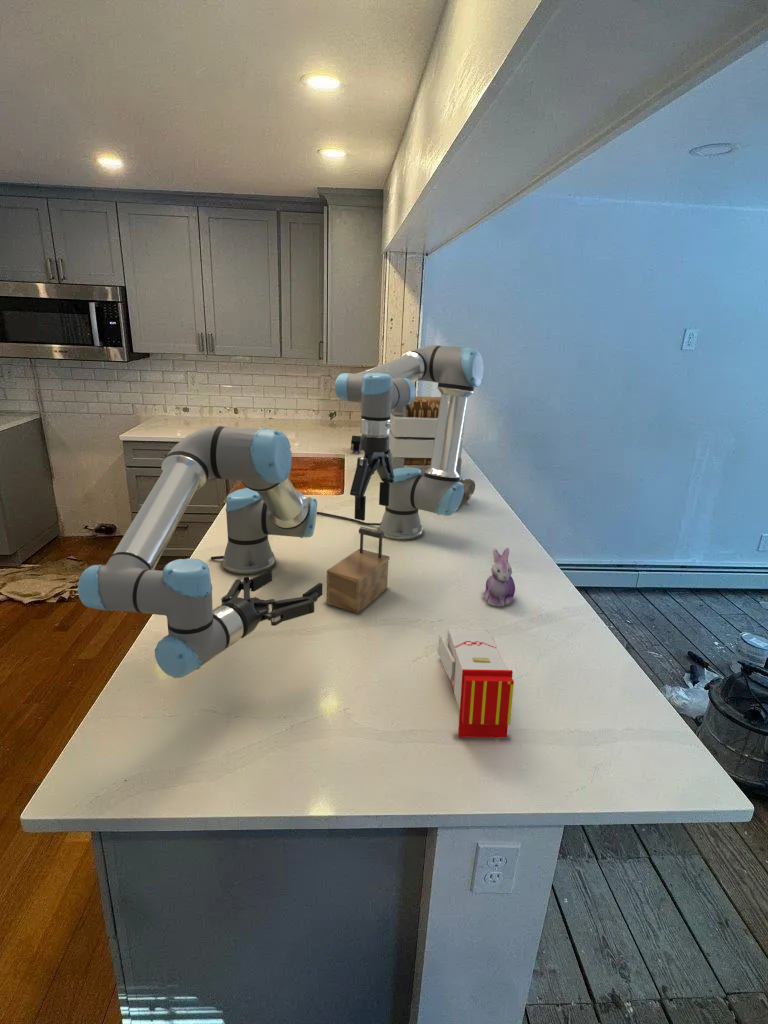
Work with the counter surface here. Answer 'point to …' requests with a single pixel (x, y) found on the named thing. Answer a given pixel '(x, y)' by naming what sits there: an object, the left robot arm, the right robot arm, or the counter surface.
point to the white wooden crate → (415, 433)
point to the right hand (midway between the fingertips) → (372, 512)
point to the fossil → (467, 490)
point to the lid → (360, 560)
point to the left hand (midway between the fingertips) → (295, 581)
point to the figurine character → (355, 444)
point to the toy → (478, 682)
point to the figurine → (500, 581)
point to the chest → (356, 590)
